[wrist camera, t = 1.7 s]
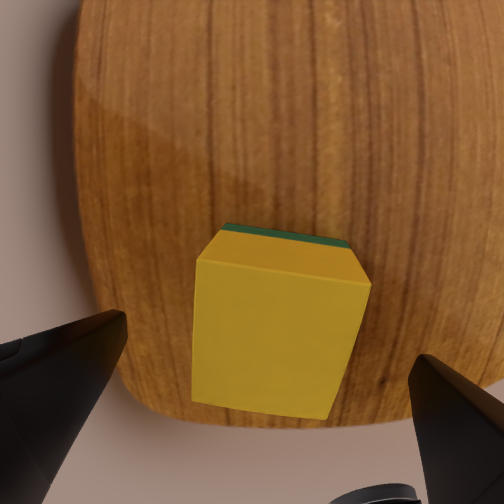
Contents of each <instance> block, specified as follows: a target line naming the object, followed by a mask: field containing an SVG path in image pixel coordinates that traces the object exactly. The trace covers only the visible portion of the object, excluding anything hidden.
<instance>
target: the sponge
mask: <svg viewBox="0 0 504 504" xmlns="http://www.w3.org/2000/svg"><path fill="white" fill-rule="evenodd" d="M371 287H372V284H371V282H370V281H369V279H368V277H367V275H366V273H365V272H364V270H363V268H362V267H361V265H360V263H359V261H358V260H357V258H356V256H355V255H354V253H353V251H352V250H351V248H350V247H349V245H348V243H347V242H346V241H343V240H337V239H331V238H324V237H318V236H311V235H305V234H298V233H292V232H285V231H278V230H271V229H264V228H257V227H250V226H243V225H236V224H229V223H226V224H225V225H224V226H223V227H222V228H221V230H219V232H218V233H217V234H216V235H215V237H214V238H213V239H212V240H211V242H210V243H209V244H208V246H207V247H206V248H205V249H204V251H203V252H202V253H201V254H200V256H199V257H198V258H197V260H196V275H195V294H194V315H193V342H192V385H191V399H192V401H196V402H201V403H205V404H210V405H216V406H221V407H227V408H232V409H238V410H244V411H251V412H258V413H265V414H272V415H280V416H289V417H299V418H310V419H322V420H326V419H327V418H328V415H329V413H330V410H331V408H332V405H333V403H334V400H335V397H336V395H337V392H338V389H339V387H340V384H341V381H342V379H343V376H344V373H345V370H346V367H347V364H348V362H349V359H350V356H351V353H352V350H353V347H354V344H355V341H356V337H357V334H358V331H359V328H360V325H361V321H362V318H363V315H364V311H365V308H366V305H367V301H368V298H369V294H370V290H371Z"/></svg>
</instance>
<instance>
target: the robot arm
mask: <svg viewBox="0 0 504 504" xmlns="http://www.w3.org/2000/svg"><path fill="white" fill-rule="evenodd" d="M127 338H128V331H127V318H126V314H125V313H124V312H123V311H119V310H115V309H112V310H109V311H106V312H102V313H99V314H96V315H93V316H90V317H87V318H84V319H81V320H78V321H74V322H71V323H68V324H65V325H62V326H59V327H56V328H53V329H49V330H46V331H43V332H40V333H37V334H33V335H30V336H27V337H24V338H23V339H17V340H14V341H11V342H7V343H4V344H0V504H42V502H43V500H44V498H45V496H46V494H47V492H48V490H49V488H50V486H51V485H50V484H52V482H53V480H54V478H55V476H56V474H57V473H58V470H59V469H60V467H61V465H62V463H63V461H64V459H65V457H66V456H67V454H68V452H69V450H70V448H71V446H72V444H73V443H74V441H75V439H76V437H77V435H78V433H79V432H80V430H81V428H82V427H83V425H84V423H85V421H86V419H87V418H88V416H89V414H90V412H91V410H92V409H93V407H94V405H95V404H96V402H97V400H98V399H99V397H100V395H101V393H102V392H103V390H104V388H105V387H106V385H107V383H108V381H109V380H110V378H111V375H112V373H113V371H114V369H115V367H116V364H117V362H118V360H119V358H120V355H121V353H122V351H123V349H124V346H125V344H126V342H127ZM408 385H409V392H410V399H411V407H412V416H413V422H414V426H415V432H416V436H417V441H418V446H419V451H420V456H421V461H422V466H423V472H424V477H425V483H426V489H427V496H428V502H429V504H504V404H503V403H502V402H501V401H499V400H498V399H496V398H495V397H493V396H492V395H490V394H489V393H487V392H486V391H484V390H483V389H481V388H480V387H478V386H477V385H476V384H474V383H473V382H471V381H470V380H468V379H467V378H465V377H464V376H462V375H461V374H459V373H458V372H456V371H455V370H453V369H452V368H450V367H449V366H447V365H446V364H444V363H443V362H441V361H440V360H438V359H437V358H435V357H434V356H432V355H430V354H420V355H419V356H418V357H417V359H416V361H415V363H414V365H413V368H412V370H411V372H410V374H409V378H408ZM388 504H422V503H421V500H413V501H406V502H397V503H388Z"/></svg>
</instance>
